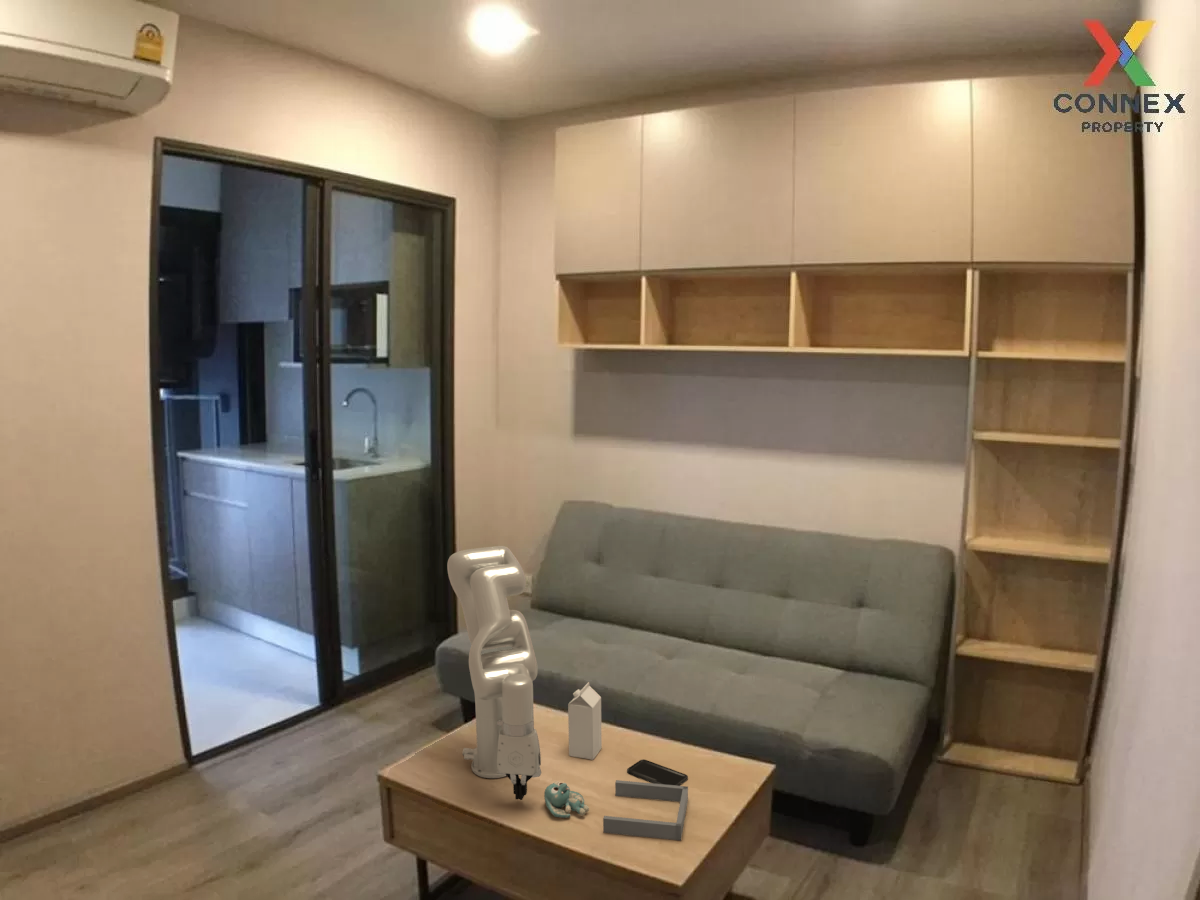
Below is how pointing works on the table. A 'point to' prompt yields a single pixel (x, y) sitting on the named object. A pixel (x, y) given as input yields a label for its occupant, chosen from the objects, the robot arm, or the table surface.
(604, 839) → the table surface
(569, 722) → the milk carton
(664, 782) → the phone
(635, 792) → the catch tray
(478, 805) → the table surface
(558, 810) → the stuffed animal
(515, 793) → the robot arm
